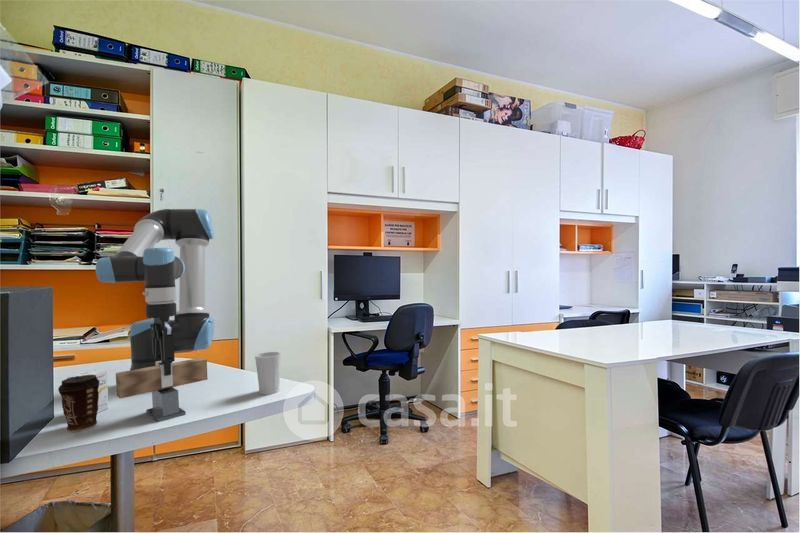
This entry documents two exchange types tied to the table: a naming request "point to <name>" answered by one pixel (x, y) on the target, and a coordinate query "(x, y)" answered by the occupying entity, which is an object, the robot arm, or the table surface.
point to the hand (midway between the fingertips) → (164, 384)
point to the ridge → (165, 405)
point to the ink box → (102, 388)
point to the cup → (268, 372)
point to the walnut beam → (159, 377)
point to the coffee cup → (80, 401)
